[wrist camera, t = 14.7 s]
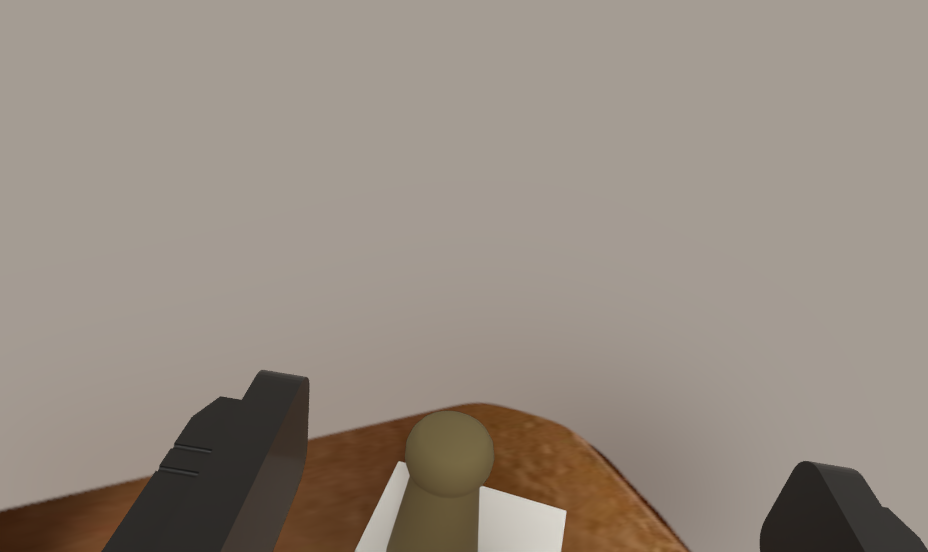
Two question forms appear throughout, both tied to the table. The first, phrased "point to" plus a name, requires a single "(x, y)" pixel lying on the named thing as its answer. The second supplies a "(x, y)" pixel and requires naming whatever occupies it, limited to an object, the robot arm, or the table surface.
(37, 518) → the table surface
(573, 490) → the table surface
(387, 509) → the white mat
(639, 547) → the table surface
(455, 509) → the cork
